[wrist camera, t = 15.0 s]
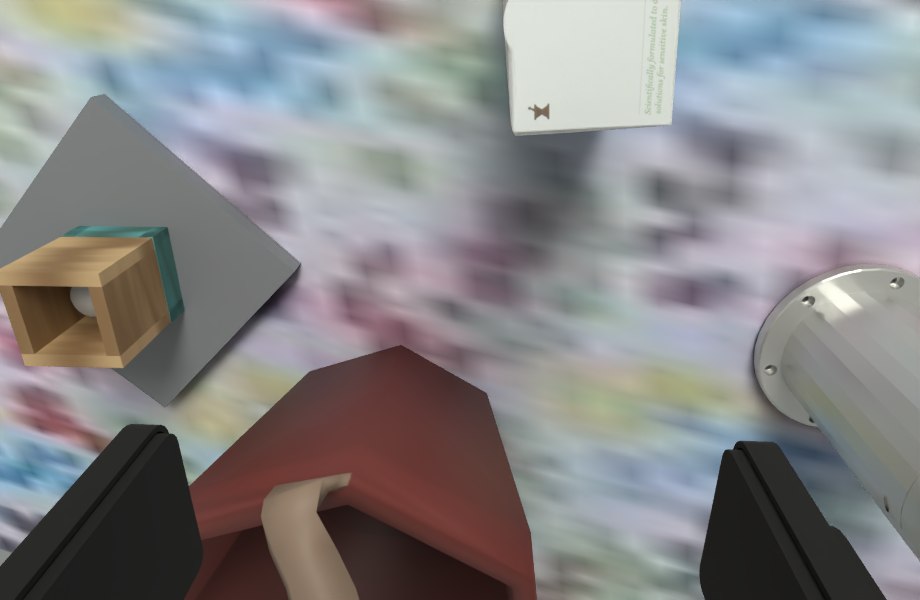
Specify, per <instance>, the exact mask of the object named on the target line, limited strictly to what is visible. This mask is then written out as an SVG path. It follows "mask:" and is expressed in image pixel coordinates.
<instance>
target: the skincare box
mask: <svg viewBox="0 0 920 600" xmlns="http://www.w3.org/2000/svg"><path fill="white" fill-rule="evenodd" d="M680 6H681V0H503V28H504V35H505V51H506V67H507V80H508V93H509V105H510V118H511V128H512V131H513V133H514V135H515V136H525V135H542V134H558V133H572V132H585V131H599V130H613V129H626V128H640V127H654V126H665V125H671V122H672V108H673V96H674V85H675V72H676V58H677V44H678V31H679V19H680Z"/></svg>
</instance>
